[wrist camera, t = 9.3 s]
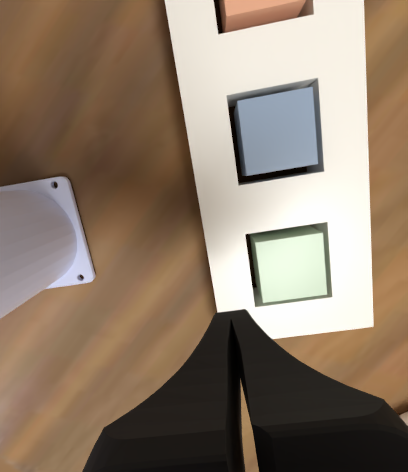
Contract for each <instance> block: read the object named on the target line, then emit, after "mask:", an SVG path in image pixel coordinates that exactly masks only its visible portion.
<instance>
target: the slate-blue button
mask: <svg viewBox="0 0 408 472" xmlns="http://www.w3.org/2000/svg"><path fill="white" fill-rule="evenodd" d="M234 120H235V128H236V135H237V143H238V151H239V158H240V166H241V174H242V176H249V175H255V174H261V173H267V172H273V171H279V170H285V169H291V168H297V167H303V166H309V165H315V164H318V156H317V141H316V127H315V113H314V98H313V87H308V88H303V89H298V90H292V91H287V92H282V93H276V94H271V95H266V96H261V97H255V98H250V99H245V100H239V101H237V104H236V107H235V110H234Z"/></svg>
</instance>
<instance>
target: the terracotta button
mask: <svg viewBox="0 0 408 472" xmlns="http://www.w3.org/2000/svg"><path fill="white" fill-rule="evenodd" d="M305 1H306V0H219V6H220V14H221V21H222V29H223V33H227V32H232V31H237V30H242V29H246V28H251V27H256V26H261V25H266V24H270V23H275V22H280V21H285V20H289V19H294V18H297V16H298V15H299V13H300V11H301V9H302V7H303V5H304V3H305Z"/></svg>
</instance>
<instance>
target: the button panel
mask: <svg viewBox="0 0 408 472" xmlns="http://www.w3.org/2000/svg"><path fill="white" fill-rule="evenodd" d="M165 5H166V11H167V17H168V23H169V29H170V35H171V41H172V46H173V52H174V58H175V64H176V70H177V76H178V82H179V88H180V94H181V100H182V105H183V111H184V117H185V123H186V129H187V135H188V141H189V147H190V153H191V159H192V164H193V170H194V176H195V182H196V188H197V194H198V200H199V206H200V212H201V218H202V223H203V229H204V235H205V241H206V247H207V253H208V259H209V265H210V271H211V277H212V282H213V288H214V294H215V300H216V306H217V312H226V311H234V310H241V309H246V310H247V311H248V312H249V314H250V315H251V317H252V318H253V319H254V321H255V322H256V323H257V324H258V325H259V326H260V328H261V329H262V330H263V331H264V332H265V333H266V334H267V335H268V336H269V337H270V338H271V339H276V338H285V337H293V336H301V335H309V334H318V333H326V332H334V331H342V330H351V329H359V328H367V327H373V295H372V261H371V227H370V193H369V160H368V126H367V92H366V58H365V24H364V0H306V1H305V3H304V5H303V7H302V9H301V11H300V13H299V15H298V16H297V18H294V19H289V20H285V21H280V22H275V23H270V24H266V25H261V26H256V27H251V28H246V29H242V30H237V31H232V32H227V33H222V34H218V30H217V22H216V15H215V7H214V0H165ZM308 87H313V98H314V113H315V127H316V141H317V156H318V164H315V165H309V166H307V172H303V173H297V174H291V175H285V176H279V177H273V178H267V179H261V180H255V181H249V182H243V183H238V178H237V170H236V163H235V155H234V148H233V141H232V133H231V126H230V118H229V111H228V107H233V106H236V104H237V101H239V100H245V99H250V98H255V97H261V96H266V95H271V94H276V93H282V92H287V91H292V90H298V89H303V88H308ZM310 224H311V227H313V228H315V229H317V230H319V231H320V232H322V233H323V242H324V256H325V270H326V285H327V295H320V296H312V297H305V298H297V299H289V300H282V301H274V302H267V303H263V301H262V299H261V296H260V293H259V291H258V288H257V287H256V288H252V281H251V274H250V266H249V259H248V252H247V244H246V237H245V234H250V233H257V232H264V231H270V230H277V229H283V228H290V227H297V226H303V225H310Z"/></svg>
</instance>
